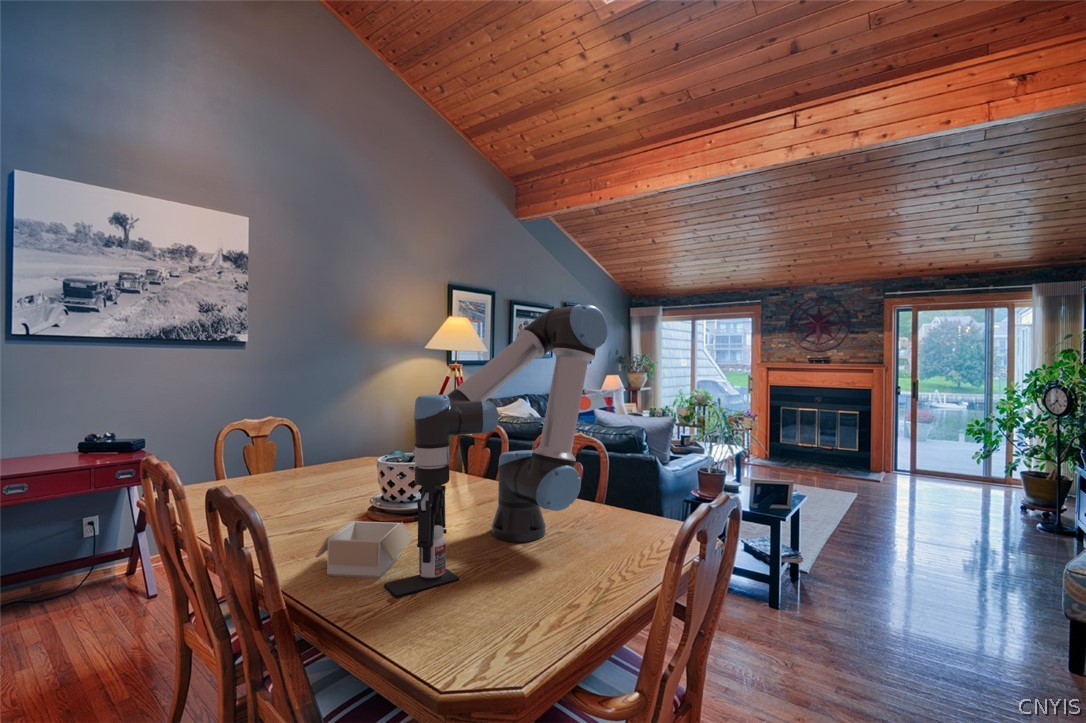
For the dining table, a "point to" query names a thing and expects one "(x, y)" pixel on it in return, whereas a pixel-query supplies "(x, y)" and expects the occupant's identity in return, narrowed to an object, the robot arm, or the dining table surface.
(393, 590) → the smartphone
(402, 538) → the flap
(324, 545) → the flap
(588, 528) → the dining table surface
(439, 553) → the pill bottle
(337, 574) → the carton
